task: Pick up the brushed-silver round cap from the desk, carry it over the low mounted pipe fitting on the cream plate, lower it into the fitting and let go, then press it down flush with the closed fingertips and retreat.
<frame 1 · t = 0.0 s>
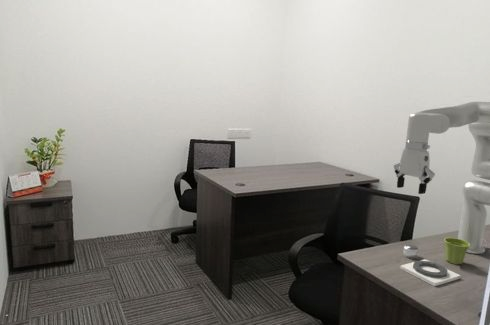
hand: (410, 190, 141), 31 cm above the table, tool pointing down, fingers open, 9 cm apart
mounted pipe fitting: (429, 273, 141), on the table
plant pot: (453, 261, 153), on the table
cap: (410, 256, 157), on the table
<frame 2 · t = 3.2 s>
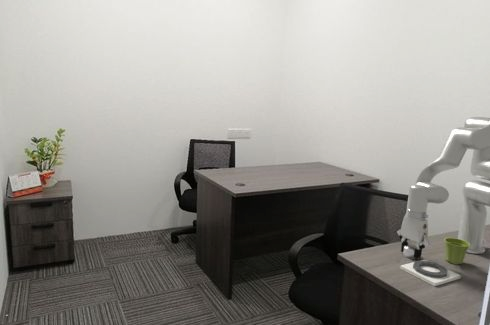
hand: (410, 254, 156), 1 cm above the table, tool pointing down, fingers closed on cap, 6 cm apart
cap: (410, 256, 157), on the table, touching gripper
everything else where it was.
when the fingers open (3 cm above the table, at t = 7.2 s): cap stays where it is, resting on mounted pipe fitting.
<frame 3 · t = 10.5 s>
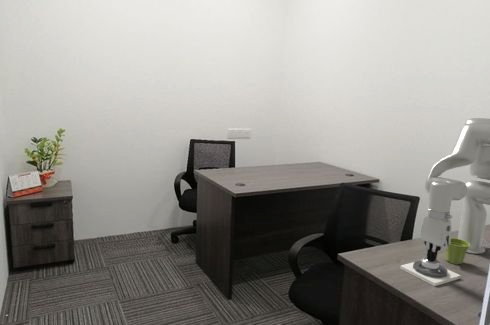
hand: (431, 260, 140), 5 cm above the table, tool pointing down, fingers closed
cap: (429, 270, 141), point 1 cm above the table, touching mounted pipe fitting, gripper
everything else where it was.
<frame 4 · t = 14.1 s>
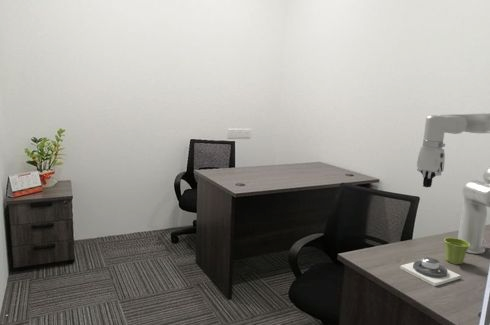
hand: (426, 186, 158), 29 cm above the table, tool pointing down, fingers closed
cap: (429, 270, 141), point 1 cm above the table, touching mounted pipe fitting
everything else where it was.
at the end: cap 0.1 cm off-centre on the mounted pipe fitting, point 1.2 cm above the mounted pipe fitting's base; cap tilted 0°; the gripper is holding nothing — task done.
